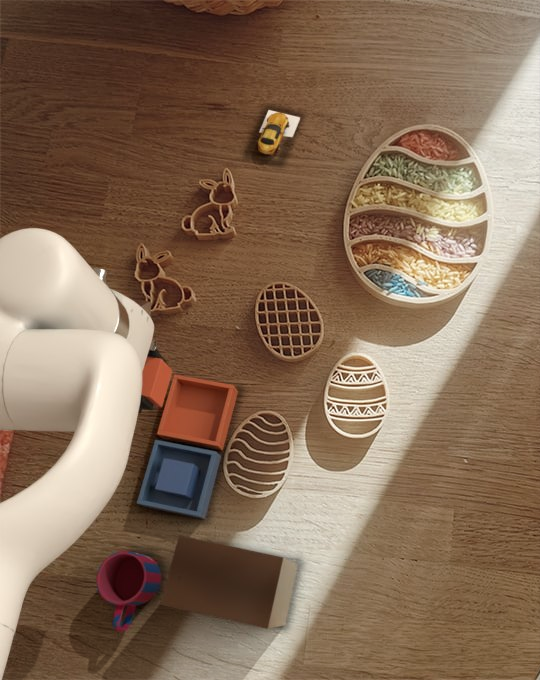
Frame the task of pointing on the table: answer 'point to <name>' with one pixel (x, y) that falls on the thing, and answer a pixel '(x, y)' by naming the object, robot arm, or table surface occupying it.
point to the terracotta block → (155, 380)
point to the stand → (230, 583)
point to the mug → (127, 583)
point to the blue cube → (178, 478)
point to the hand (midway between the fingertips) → (146, 383)
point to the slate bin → (175, 504)
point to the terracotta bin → (198, 412)
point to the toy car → (276, 131)
